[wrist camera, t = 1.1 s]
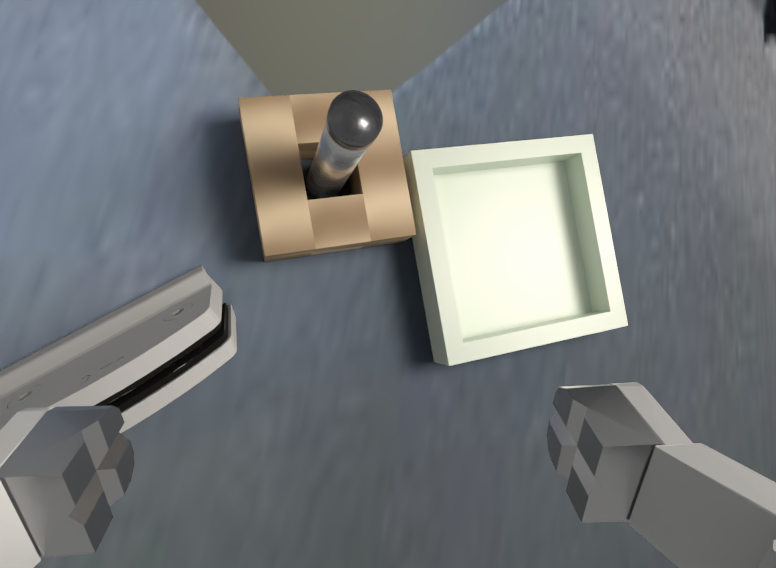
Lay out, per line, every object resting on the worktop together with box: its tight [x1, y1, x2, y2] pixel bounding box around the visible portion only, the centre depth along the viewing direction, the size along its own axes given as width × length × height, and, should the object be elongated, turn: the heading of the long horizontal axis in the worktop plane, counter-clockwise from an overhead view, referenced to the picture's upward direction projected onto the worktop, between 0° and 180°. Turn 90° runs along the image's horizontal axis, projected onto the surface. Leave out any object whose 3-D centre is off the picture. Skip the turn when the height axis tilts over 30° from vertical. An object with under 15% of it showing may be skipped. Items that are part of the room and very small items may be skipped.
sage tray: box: [403, 134, 628, 366], centre depth 43 cm, size 18×18×4 cm
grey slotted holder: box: [0, 265, 237, 433], centre depth 32 cm, size 17×5×10 cm, turn 120°
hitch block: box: [238, 90, 416, 262], centre depth 39 cm, size 12×12×4 cm
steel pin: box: [306, 90, 383, 199], centre depth 34 cm, size 3×3×14 cm
